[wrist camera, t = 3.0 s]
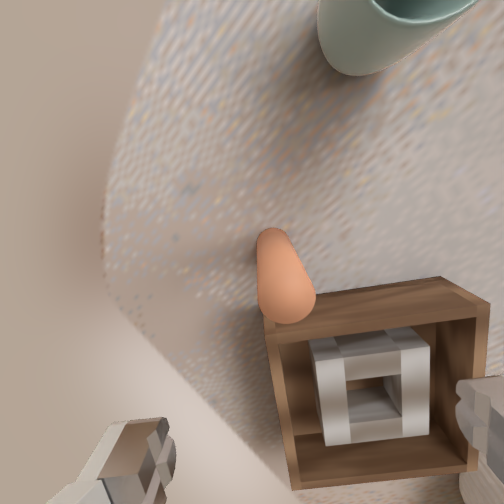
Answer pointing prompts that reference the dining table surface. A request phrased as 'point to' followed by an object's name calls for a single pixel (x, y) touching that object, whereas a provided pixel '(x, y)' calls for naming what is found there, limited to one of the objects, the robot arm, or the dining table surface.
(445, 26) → the cup
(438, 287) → the box
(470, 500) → the ramekin
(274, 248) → the peg
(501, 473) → the robot arm
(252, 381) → the dining table surface
